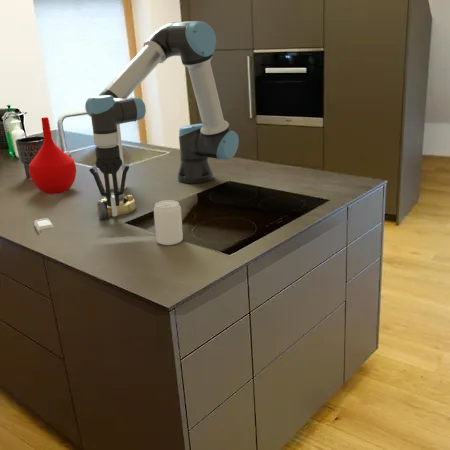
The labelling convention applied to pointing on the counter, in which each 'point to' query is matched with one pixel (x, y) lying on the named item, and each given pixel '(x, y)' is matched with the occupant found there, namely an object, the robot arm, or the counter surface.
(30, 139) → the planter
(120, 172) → the cylinder container
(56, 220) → the counter surface
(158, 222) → the beverage can
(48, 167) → the vase
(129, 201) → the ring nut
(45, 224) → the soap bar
